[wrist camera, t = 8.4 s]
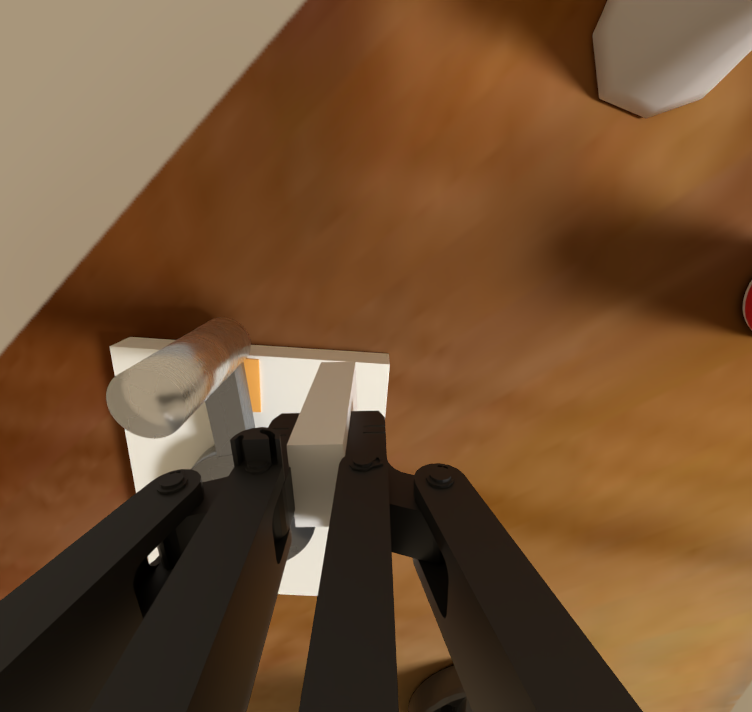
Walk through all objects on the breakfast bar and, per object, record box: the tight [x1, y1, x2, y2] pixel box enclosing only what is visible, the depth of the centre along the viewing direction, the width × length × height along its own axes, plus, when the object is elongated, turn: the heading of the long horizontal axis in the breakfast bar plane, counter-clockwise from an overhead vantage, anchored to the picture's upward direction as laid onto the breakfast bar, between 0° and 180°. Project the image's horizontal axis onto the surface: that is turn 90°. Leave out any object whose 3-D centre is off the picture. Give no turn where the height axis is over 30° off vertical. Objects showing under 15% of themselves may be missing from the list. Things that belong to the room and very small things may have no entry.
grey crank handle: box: [106, 317, 315, 560], centre depth 21 cm, size 17×9×8 cm, turn 3°
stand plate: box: [109, 337, 390, 596], centre depth 27 cm, size 20×17×2 cm
